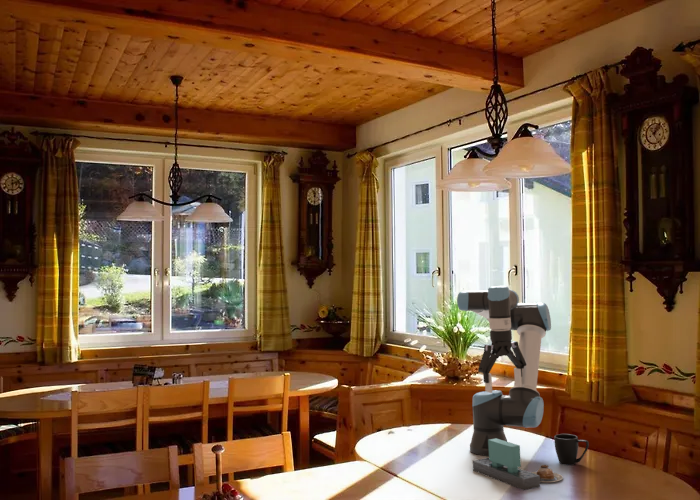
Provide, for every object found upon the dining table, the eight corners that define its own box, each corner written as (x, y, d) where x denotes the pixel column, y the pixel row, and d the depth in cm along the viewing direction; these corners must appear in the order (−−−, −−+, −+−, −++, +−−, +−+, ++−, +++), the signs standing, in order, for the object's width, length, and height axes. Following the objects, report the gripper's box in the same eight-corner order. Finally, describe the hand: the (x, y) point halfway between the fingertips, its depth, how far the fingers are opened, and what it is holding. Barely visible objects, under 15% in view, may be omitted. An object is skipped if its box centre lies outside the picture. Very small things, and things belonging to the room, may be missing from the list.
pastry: (558, 487, 211) (557, 472, 211) (521, 482, 217) (521, 468, 217) (567, 477, 221) (566, 463, 221) (531, 472, 227) (531, 459, 227)
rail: (472, 470, 231) (472, 460, 231) (488, 467, 234) (488, 457, 234) (523, 490, 207) (523, 479, 208) (540, 486, 211) (539, 475, 211)
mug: (585, 469, 228) (584, 441, 228) (552, 464, 235) (550, 437, 236) (592, 463, 234) (591, 436, 235) (560, 458, 242) (558, 432, 242)
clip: (489, 474, 225) (488, 439, 226) (497, 473, 227) (496, 438, 227) (513, 483, 214) (511, 447, 215) (521, 481, 216) (519, 445, 217)
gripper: (479, 333, 222) (483, 396, 221) (534, 327, 233) (537, 385, 233) (466, 332, 228) (469, 392, 228) (519, 325, 240) (522, 382, 240)
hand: (503, 389), depth 230 cm, fingers open, 13 cm apart
